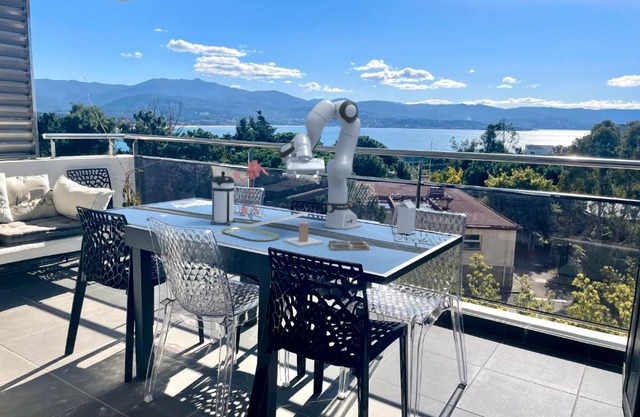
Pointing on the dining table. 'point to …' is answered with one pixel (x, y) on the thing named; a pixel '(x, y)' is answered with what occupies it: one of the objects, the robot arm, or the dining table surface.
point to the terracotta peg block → (303, 231)
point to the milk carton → (406, 217)
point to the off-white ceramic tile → (302, 244)
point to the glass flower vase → (252, 173)
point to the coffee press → (222, 199)
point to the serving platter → (252, 230)
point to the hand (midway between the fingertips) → (306, 178)
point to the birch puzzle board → (347, 245)
